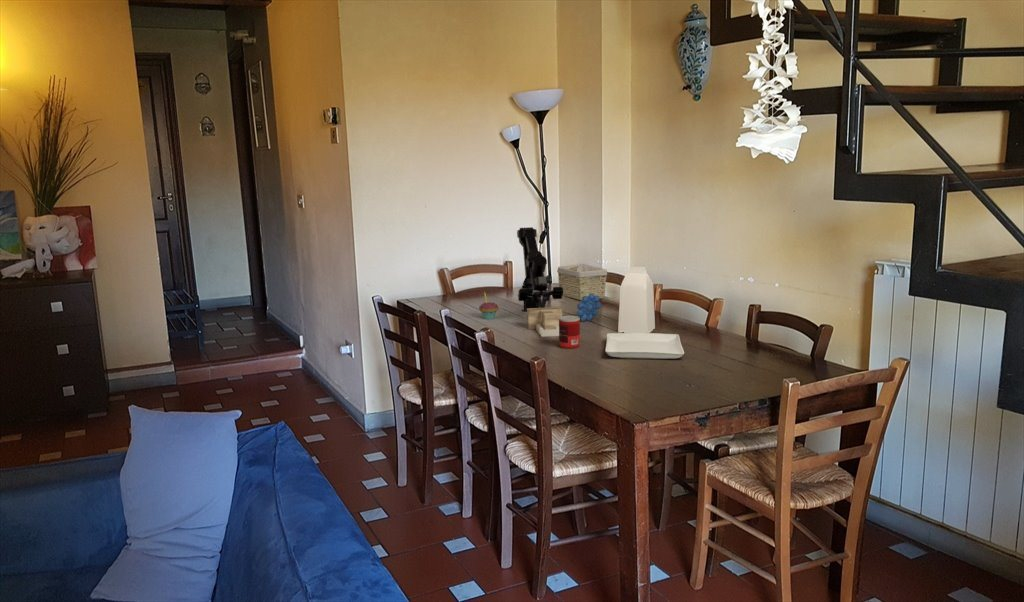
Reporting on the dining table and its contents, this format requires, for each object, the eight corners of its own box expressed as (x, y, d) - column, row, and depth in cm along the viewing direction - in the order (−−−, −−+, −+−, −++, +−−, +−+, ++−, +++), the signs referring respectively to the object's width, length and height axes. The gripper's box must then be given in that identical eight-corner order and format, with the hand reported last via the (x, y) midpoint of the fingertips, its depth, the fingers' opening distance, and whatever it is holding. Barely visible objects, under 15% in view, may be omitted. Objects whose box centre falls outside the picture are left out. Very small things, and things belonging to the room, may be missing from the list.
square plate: (605, 361, 265) (605, 350, 264) (606, 341, 291) (606, 332, 290) (684, 362, 261) (684, 351, 260) (678, 342, 287) (678, 332, 287)
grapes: (596, 317, 332) (595, 290, 329) (603, 320, 326) (603, 293, 323) (572, 320, 327) (572, 293, 325) (579, 323, 321) (579, 295, 319)
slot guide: (536, 330, 311) (536, 324, 311) (556, 329, 312) (556, 323, 312) (541, 336, 300) (541, 330, 300) (561, 335, 301) (561, 329, 301)
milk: (618, 332, 304) (618, 268, 299) (626, 326, 315) (626, 263, 310) (647, 334, 299) (648, 269, 294) (655, 328, 310) (655, 265, 305)
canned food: (582, 344, 287) (581, 316, 285) (576, 349, 279) (576, 320, 277) (562, 343, 289) (562, 315, 287) (556, 348, 282) (556, 319, 280)
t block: (527, 327, 317) (526, 308, 315) (560, 325, 318) (559, 306, 317) (532, 335, 303) (532, 315, 301) (567, 333, 305) (567, 313, 303)
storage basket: (556, 294, 388) (555, 265, 385) (583, 291, 395) (583, 263, 392) (579, 302, 367) (579, 272, 364) (608, 298, 373) (608, 269, 370)
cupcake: (476, 319, 334) (475, 292, 332) (484, 315, 342) (483, 289, 339) (494, 320, 331) (493, 293, 328) (501, 316, 338) (501, 290, 336)
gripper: (518, 269, 317) (523, 300, 309) (562, 267, 320) (568, 298, 311) (516, 285, 326) (520, 315, 318) (558, 283, 329) (564, 313, 320)
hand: (543, 310), depth 316 cm, fingers closed, pressing on t block
